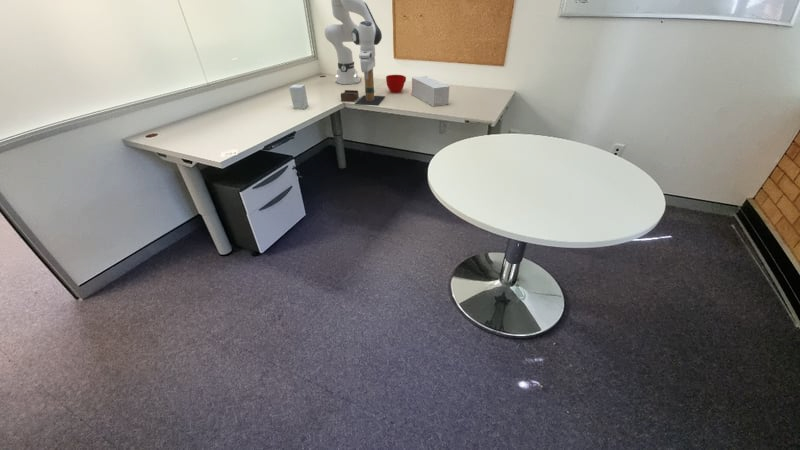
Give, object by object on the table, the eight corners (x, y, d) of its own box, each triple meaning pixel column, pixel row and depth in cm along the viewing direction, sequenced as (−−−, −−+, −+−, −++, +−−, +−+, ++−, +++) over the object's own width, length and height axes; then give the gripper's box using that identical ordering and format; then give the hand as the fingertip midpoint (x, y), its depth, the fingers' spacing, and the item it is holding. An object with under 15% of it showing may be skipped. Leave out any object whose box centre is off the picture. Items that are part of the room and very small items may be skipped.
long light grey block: (411, 94, 228) (411, 77, 221) (425, 92, 231) (426, 76, 225) (433, 106, 204) (434, 88, 197) (448, 104, 207) (449, 86, 201)
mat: (363, 95, 225) (363, 95, 224) (385, 96, 222) (385, 96, 222) (355, 104, 209) (355, 103, 208) (377, 105, 206) (377, 104, 206)
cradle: (346, 97, 222) (345, 89, 219) (358, 97, 221) (358, 90, 218) (341, 101, 214) (340, 93, 212) (354, 101, 213) (353, 94, 210)
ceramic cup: (412, 90, 235) (412, 75, 230) (395, 95, 226) (395, 79, 220) (398, 87, 243) (398, 72, 237) (382, 91, 233) (382, 76, 227)
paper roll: (374, 71, 207) (365, 70, 208) (371, 72, 203) (362, 72, 203) (375, 98, 217) (367, 98, 218) (373, 101, 213) (364, 100, 213)
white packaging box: (308, 105, 207) (305, 84, 199) (304, 109, 201) (301, 87, 193) (297, 105, 207) (293, 84, 200) (293, 108, 201) (288, 87, 194)
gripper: (367, 50, 208) (368, 73, 216) (358, 55, 192) (359, 80, 200) (377, 50, 207) (378, 74, 215) (368, 55, 191) (369, 81, 199)
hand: (369, 77), depth 207 cm, fingers open, 8 cm apart
